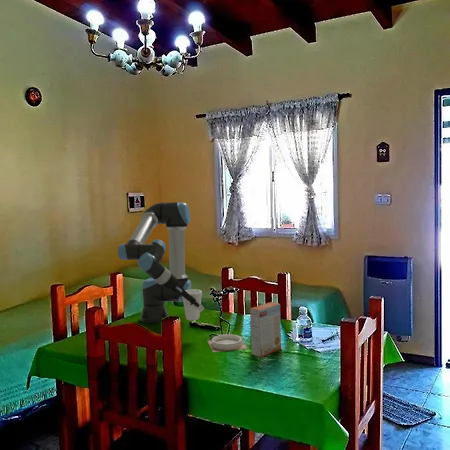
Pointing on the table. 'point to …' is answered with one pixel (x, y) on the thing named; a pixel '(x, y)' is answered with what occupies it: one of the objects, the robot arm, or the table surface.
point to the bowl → (227, 342)
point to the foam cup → (190, 309)
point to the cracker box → (265, 329)
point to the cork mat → (226, 350)
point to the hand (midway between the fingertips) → (198, 307)
